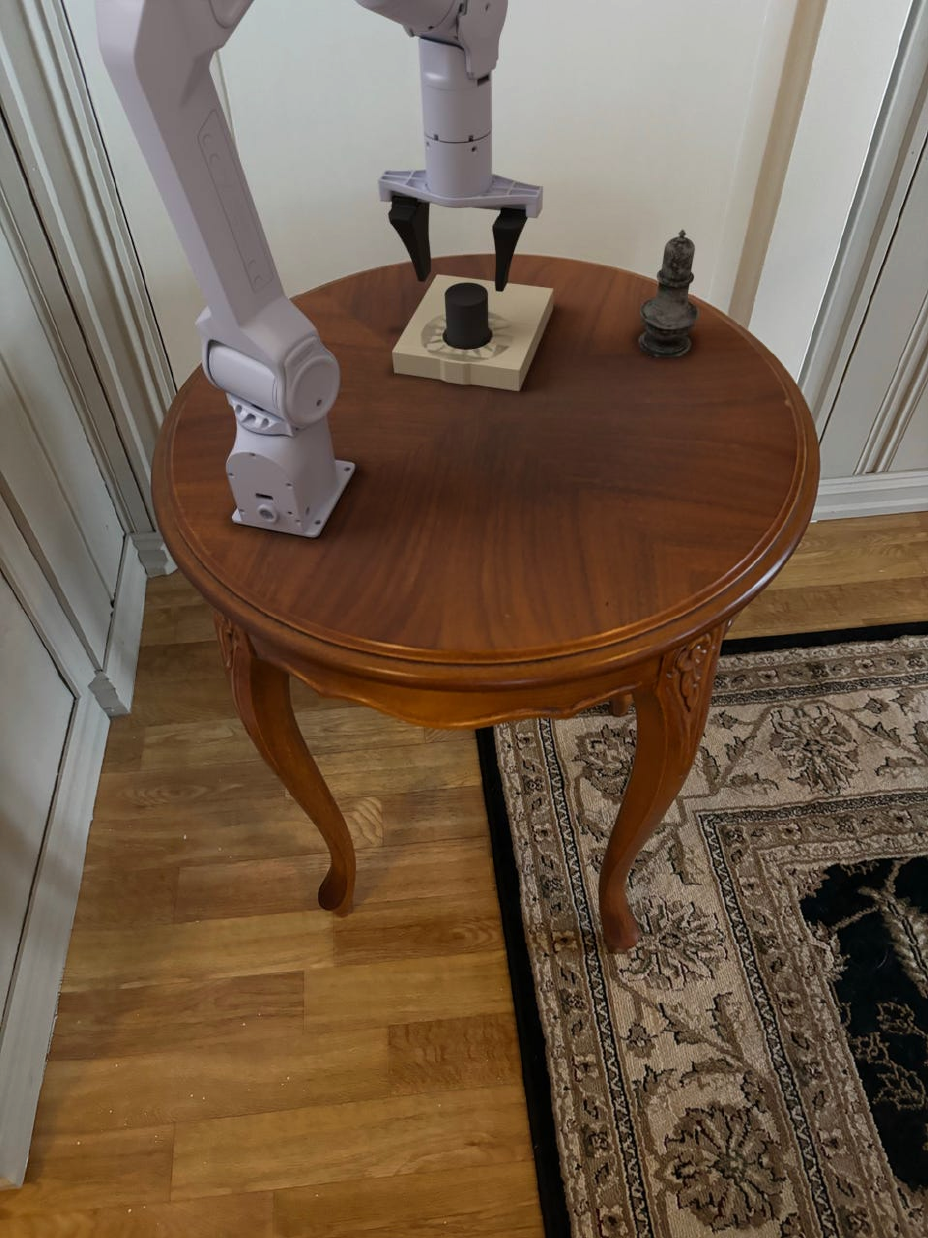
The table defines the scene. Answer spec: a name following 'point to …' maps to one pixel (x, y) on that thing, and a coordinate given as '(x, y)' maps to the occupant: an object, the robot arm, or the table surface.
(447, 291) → the dark grey cylinder
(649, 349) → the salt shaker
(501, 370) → the back plate
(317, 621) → the table surface
